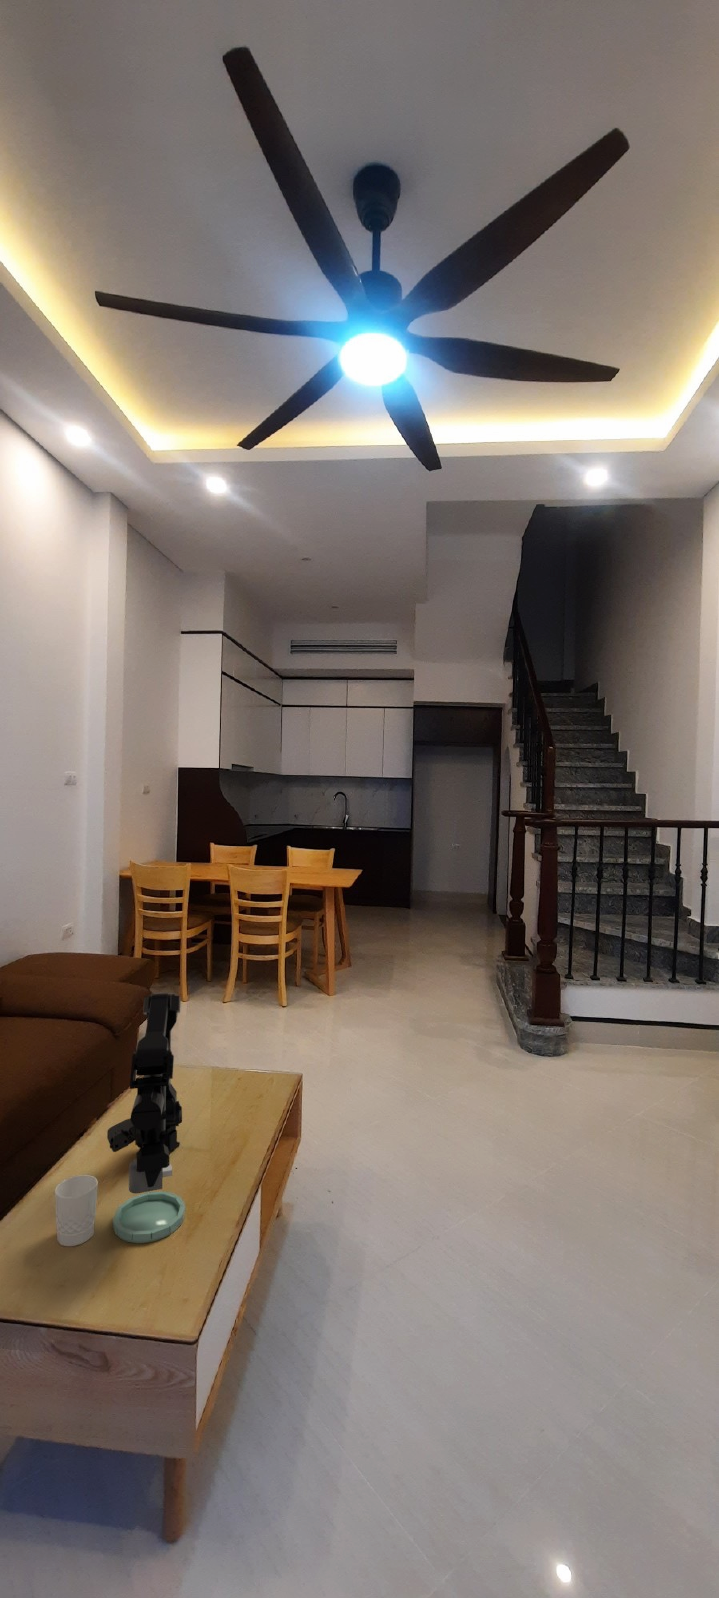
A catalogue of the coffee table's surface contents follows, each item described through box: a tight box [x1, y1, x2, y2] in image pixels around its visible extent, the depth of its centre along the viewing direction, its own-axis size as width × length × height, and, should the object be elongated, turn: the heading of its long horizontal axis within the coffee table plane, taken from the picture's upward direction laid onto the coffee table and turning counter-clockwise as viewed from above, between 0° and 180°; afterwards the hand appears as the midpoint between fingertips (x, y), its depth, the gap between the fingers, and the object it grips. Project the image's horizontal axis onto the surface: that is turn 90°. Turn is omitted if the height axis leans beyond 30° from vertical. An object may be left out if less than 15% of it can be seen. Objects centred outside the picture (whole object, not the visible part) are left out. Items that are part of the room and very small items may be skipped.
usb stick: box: [128, 1159, 173, 1194], centre depth 136 cm, size 8×4×5 cm, turn 111°
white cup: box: [54, 1174, 99, 1247], centre depth 131 cm, size 8×8×10 cm
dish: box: [112, 1190, 186, 1244], centre depth 136 cm, size 14×14×2 cm
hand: (150, 1180), depth 136 cm, fingers closed on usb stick, 4 cm apart
